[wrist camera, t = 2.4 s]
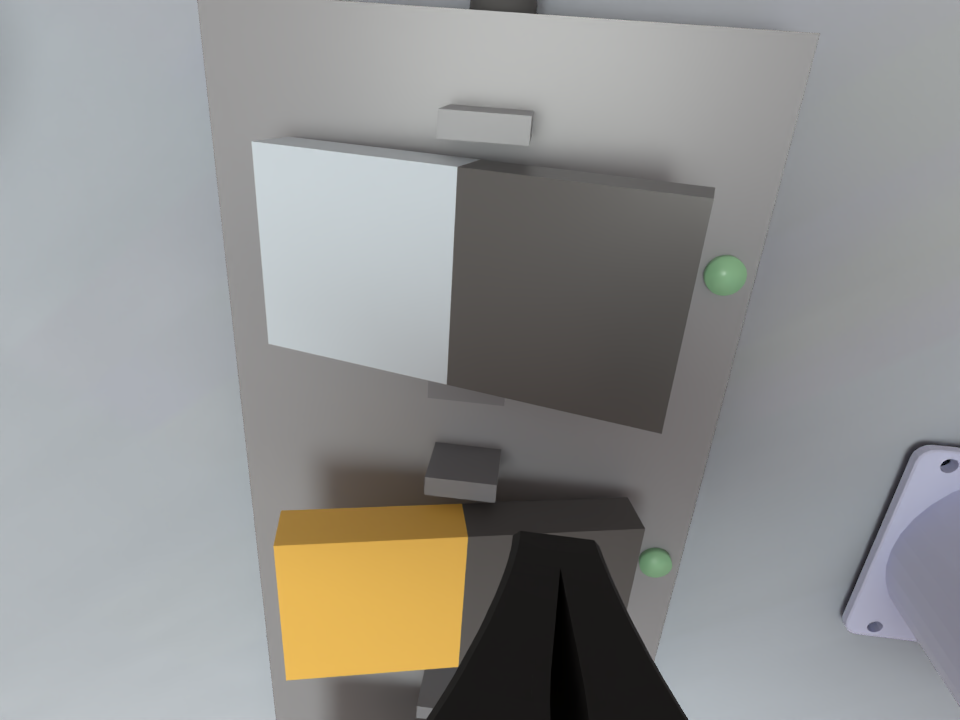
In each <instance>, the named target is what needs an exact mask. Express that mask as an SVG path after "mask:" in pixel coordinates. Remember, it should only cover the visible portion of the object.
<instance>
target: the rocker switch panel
mask: <svg viewBox="0 0 960 720" xmlns="http://www.w3.org/2000/svg"><path fill="white" fill-rule="evenodd" d="M197 3H198V12H199V21H200V30H201V39H202V48H203V58H204V67H205V76H206V85H207V94H208V103H209V112H210V121H211V131H212V140H213V149H214V158H215V167H216V176H217V185H218V194H219V204H220V213H221V222H222V231H223V240H224V249H225V258H226V267H227V276H228V286H229V295H230V304H231V313H232V322H233V331H234V340H235V349H236V359H237V368H238V377H239V386H240V395H241V404H242V413H243V422H244V432H245V441H246V450H247V459H248V468H249V477H250V486H251V495H252V505H253V514H254V523H255V532H256V541H257V550H258V559H259V568H260V578H261V587H262V596H263V605H264V614H265V623H266V632H267V641H268V650H269V660H270V669H271V678H272V687H273V696H274V705H275V714H276V720H426V719H427V717H428V715H429V714H430V712H431V711H432V709H433V708H434V706H435V705H436V703H437V702H438V700H439V699H440V697H441V695H442V694H443V692H444V691H445V689H446V687H447V686H448V684H449V682H450V681H451V679H452V677H453V676H454V674H455V672H456V670H457V669H458V667H451V668H438V669H425V670H413V671H400V672H388V673H375V674H362V675H350V676H337V677H325V678H312V679H299V680H287V681H286V673H285V663H284V652H283V642H282V631H281V621H280V610H279V600H278V589H277V579H276V568H275V558H274V547H273V545H274V541H275V536H276V532H277V527H278V522H279V518H280V513H281V511H282V510H308V509H334V508H361V507H387V506H413V505H439V504H465V503H495V502H518V501H544V500H570V499H596V498H622V497H628V499H629V501H630V502H631V504H632V506H633V508H634V509H635V511H636V513H637V515H638V517H639V518H640V520H641V522H642V524H643V526H644V527H645V532H644V537H643V541H642V545H641V550H640V554H639V559H638V563H637V567H636V572H635V576H634V581H633V585H632V589H631V594H630V598H629V603H628V607H627V611H628V614H629V616H630V618H631V620H632V622H633V624H634V625H635V627H636V629H637V631H638V633H639V635H640V637H641V639H642V641H643V642H644V644H645V646H646V648H647V650H648V652H649V654H650V656H651V657H652V659H653V661H654V660H655V656H656V652H657V648H658V645H659V641H660V637H661V633H662V630H663V626H664V622H665V618H666V614H667V611H668V607H669V603H670V599H671V595H672V592H673V588H674V584H675V580H676V577H677V573H678V569H679V565H680V561H681V558H682V554H683V550H684V546H685V542H686V539H687V535H688V531H689V527H690V524H691V520H692V516H693V512H694V508H695V505H696V501H697V497H698V493H699V490H700V486H701V482H702V478H703V474H704V471H705V467H706V463H707V459H708V455H709V452H710V448H711V444H712V440H713V437H714V433H715V429H716V425H717V421H718V418H719V414H720V410H721V406H722V402H723V399H724V395H725V391H726V387H727V384H728V380H729V376H730V372H731V368H732V365H733V361H734V357H735V353H736V350H737V346H738V342H739V338H740V334H741V331H742V327H743V323H744V319H745V315H746V312H747V308H748V304H749V300H750V297H751V293H752V289H753V285H754V281H755V278H756V274H757V270H758V266H759V262H760V259H761V255H762V251H763V247H764V244H765V240H766V236H767V232H768V228H769V225H770V221H771V217H772V213H773V210H774V206H775V202H776V198H777V194H778V191H779V187H780V183H781V179H782V175H783V172H784V168H785V164H786V160H787V157H788V153H789V149H790V145H791V141H792V138H793V134H794V130H795V126H796V122H797V119H798V115H799V111H800V107H801V104H802V100H803V96H804V92H805V88H806V85H807V81H808V77H809V73H810V70H811V66H812V62H813V58H814V54H815V51H816V47H817V43H818V39H819V35H820V33H807V32H792V31H778V30H763V29H748V28H734V27H719V26H705V25H690V24H675V23H661V22H646V21H631V20H617V19H602V18H587V17H573V16H558V15H543V14H536V7H537V0H471V1H470V9H455V8H441V7H426V6H411V5H397V4H382V3H367V2H353V1H338V0H197ZM281 137H296V138H305V139H313V140H322V141H330V142H338V143H347V144H355V145H364V146H372V147H380V148H389V149H397V150H405V151H414V152H422V153H431V154H439V155H447V156H456V157H464V158H472V159H481V160H489V161H498V162H506V163H514V164H523V165H531V166H539V167H548V168H556V169H565V170H573V171H581V172H590V173H598V174H607V175H615V176H623V177H632V178H640V179H648V180H657V181H665V182H674V183H682V184H690V185H699V186H707V187H715V194H714V201H713V205H712V210H711V214H710V219H709V223H708V228H707V232H706V237H705V241H704V246H703V250H702V255H701V259H700V264H699V268H698V273H697V277H696V282H695V286H694V291H693V295H692V300H691V304H690V309H689V313H688V318H687V322H686V327H685V331H684V336H683V340H682V345H681V349H680V354H679V358H678V363H677V367H676V372H675V376H674V381H673V385H672V390H671V394H670V399H669V403H668V408H667V412H666V417H665V421H664V426H663V430H662V434H660V433H655V432H651V431H646V430H642V429H638V428H633V427H629V426H625V425H620V424H616V423H612V422H607V421H603V420H599V419H594V418H590V417H585V416H581V415H577V414H572V413H568V412H564V411H559V410H555V409H551V408H546V407H542V406H537V405H533V404H529V403H524V402H520V401H516V400H511V399H507V398H503V397H498V396H494V395H490V394H485V393H481V392H476V391H472V390H468V389H463V388H459V387H455V386H450V385H446V384H442V383H437V382H433V381H428V380H424V379H420V378H415V377H411V376H407V375H402V374H398V373H394V372H389V371H385V370H381V369H376V368H372V367H367V366H363V365H359V364H354V363H350V362H346V361H341V360H337V359H333V358H328V357H324V356H319V355H315V354H311V353H306V352H302V351H298V350H293V349H289V348H285V347H280V346H276V345H272V344H268V332H267V320H266V308H265V296H264V284H263V273H262V261H261V249H260V237H259V225H258V214H257V202H256V190H255V178H254V166H253V155H252V143H251V141H258V140H266V139H273V138H281Z"/></svg>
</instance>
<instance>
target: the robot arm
mask: <svg viewBox="0 0 960 720" xmlns="http://www.w3.org/2000/svg"><path fill="white" fill-rule="evenodd" d="M948 459H951V461H950V462H949V463H948V464H946V465H943V466H941V464H942V463H943V462H944V461H946V460H948ZM842 621H843V623H844V625H845V627H846V629H847V630H848V631H849V632H851V633H854V634H861V635H869V636H877V637H885V638H892V639H900V640H908V641H916V642H919V644H920V646H921V647H922V649H923V650H924V652H925V653H926V655H927V657H928V658H929V660H930V661H931V663H932V664H933V666H934V667H935V669H936V671H937V672H938V674H939V675H940V677H941V678H942V680H943V681H944V683H945V685H946V686H947V688H948V689H949V691H950V692H951V694H952V696H953V697H954V699H955V700H956V702H957V703H958V705H959V706H960V448H958V447H949V446H940V445H925V446H922V447H919V448H918V449H917V450H915V451H914V452H913V454H912V455H911V457H910V459H909V462H908V464H907V466H906V469H905V471H904V473H903V476H902V478H901V480H900V483H899V485H898V487H897V490H896V492H895V494H894V497H893V499H892V501H891V504H890V506H889V508H888V511H887V513H886V515H885V518H884V520H883V522H882V525H881V527H880V529H879V532H878V534H877V536H876V539H875V541H874V543H873V546H872V548H871V550H870V553H869V555H868V557H867V560H866V562H865V564H864V567H863V569H862V571H861V574H860V576H859V578H858V581H857V583H856V585H855V588H854V590H853V592H852V595H851V597H850V599H849V602H848V604H847V606H846V609H845V611H844V613H843V616H842ZM871 622H873V623H871ZM426 720H688V718H687V717H686V715H685V714H684V712H683V710H682V709H681V707H680V705H679V704H678V702H677V700H676V699H675V697H674V695H673V694H672V692H671V690H670V689H669V687H668V685H667V684H666V682H665V680H664V679H663V677H662V675H661V673H660V672H659V670H658V668H657V666H656V665H655V663H654V661H653V659H652V657H651V656H650V654H649V652H648V650H647V648H646V646H645V644H644V642H643V641H642V639H641V637H640V635H639V633H638V631H637V629H636V627H635V625H634V624H633V622H632V620H631V618H630V616H629V614H628V611H627V609H626V607H625V605H624V603H623V601H622V599H621V597H620V595H619V592H618V590H617V588H616V586H615V584H614V581H613V579H612V577H611V574H610V572H609V570H608V567H607V565H606V562H605V560H604V557H603V555H602V552H601V549H600V546H599V545H598V544H597V543H596V542H595V540H590V539H582V538H574V537H566V536H558V535H550V534H542V533H534V532H527V531H519V532H517V533H516V534H514V535H513V538H512V546H511V550H510V554H509V558H508V561H507V565H506V568H505V571H504V573H503V576H502V579H501V581H500V584H499V586H498V589H497V591H496V594H495V596H494V598H493V600H492V602H491V605H490V607H489V609H488V611H487V613H486V616H485V618H484V620H483V622H482V624H481V626H480V628H479V630H478V632H477V634H476V636H475V638H474V640H473V641H472V643H471V645H470V647H469V649H468V651H467V652H466V654H465V656H464V658H463V660H462V661H461V663H460V665H459V667H458V669H457V670H456V672H455V674H454V676H453V677H452V679H451V681H450V682H449V684H448V686H447V687H446V689H445V691H444V692H443V694H442V695H441V697H440V699H439V700H438V702H437V703H436V705H435V706H434V708H433V709H432V711H431V712H430V714H429V715H428V717H427V719H426Z"/></svg>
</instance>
